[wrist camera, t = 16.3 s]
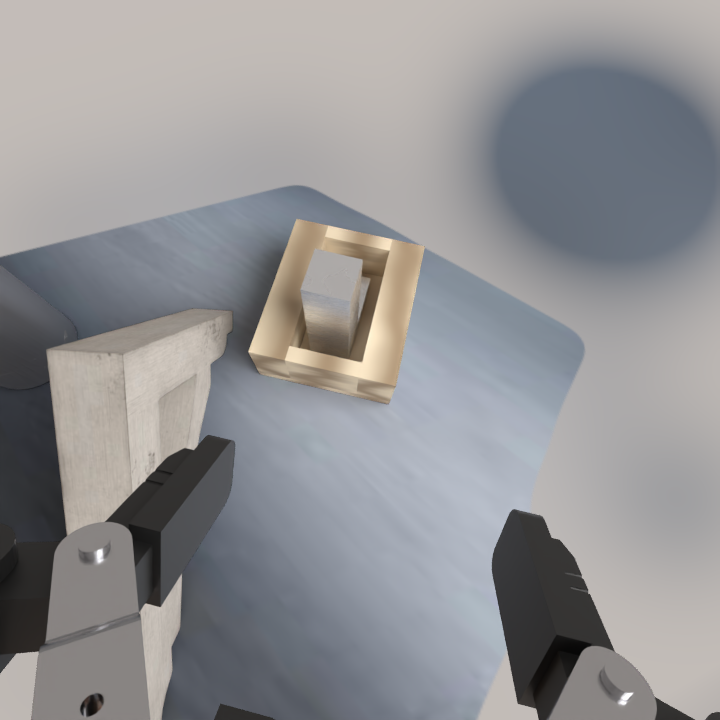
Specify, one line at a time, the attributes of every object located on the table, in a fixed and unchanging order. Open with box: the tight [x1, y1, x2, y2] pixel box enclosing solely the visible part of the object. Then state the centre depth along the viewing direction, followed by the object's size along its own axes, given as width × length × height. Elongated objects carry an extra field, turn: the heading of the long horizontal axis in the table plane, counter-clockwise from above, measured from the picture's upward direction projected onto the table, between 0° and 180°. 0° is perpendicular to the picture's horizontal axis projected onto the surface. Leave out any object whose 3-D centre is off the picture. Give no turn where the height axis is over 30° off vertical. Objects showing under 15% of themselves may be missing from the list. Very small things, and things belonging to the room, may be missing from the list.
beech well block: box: [248, 219, 425, 404], centre depth 44 cm, size 14×16×6 cm
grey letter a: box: [46, 308, 233, 720], centre depth 38 cm, size 22×4×30 cm
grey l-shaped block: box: [300, 249, 371, 359], centre depth 40 cm, size 4×10×13 cm, turn 166°
